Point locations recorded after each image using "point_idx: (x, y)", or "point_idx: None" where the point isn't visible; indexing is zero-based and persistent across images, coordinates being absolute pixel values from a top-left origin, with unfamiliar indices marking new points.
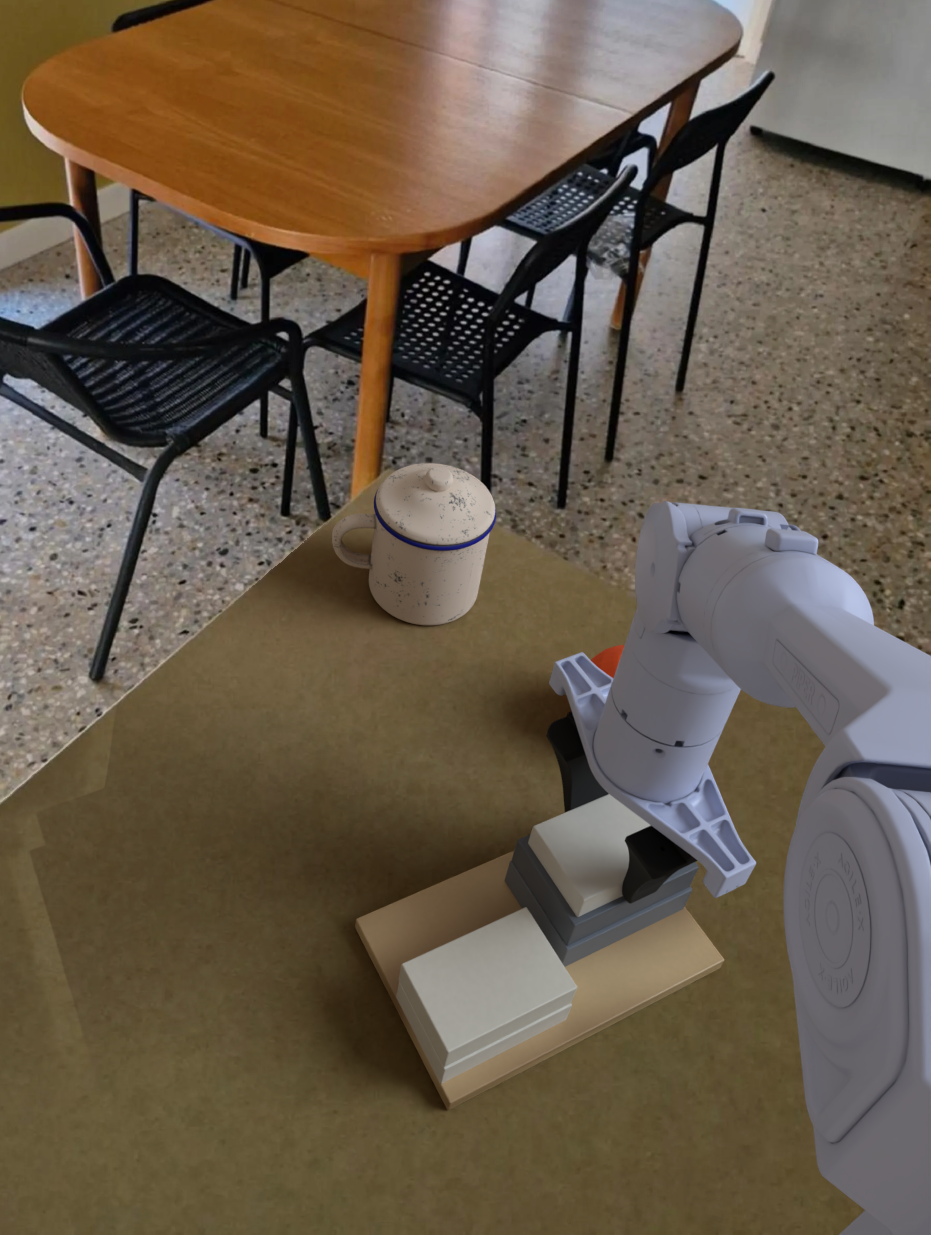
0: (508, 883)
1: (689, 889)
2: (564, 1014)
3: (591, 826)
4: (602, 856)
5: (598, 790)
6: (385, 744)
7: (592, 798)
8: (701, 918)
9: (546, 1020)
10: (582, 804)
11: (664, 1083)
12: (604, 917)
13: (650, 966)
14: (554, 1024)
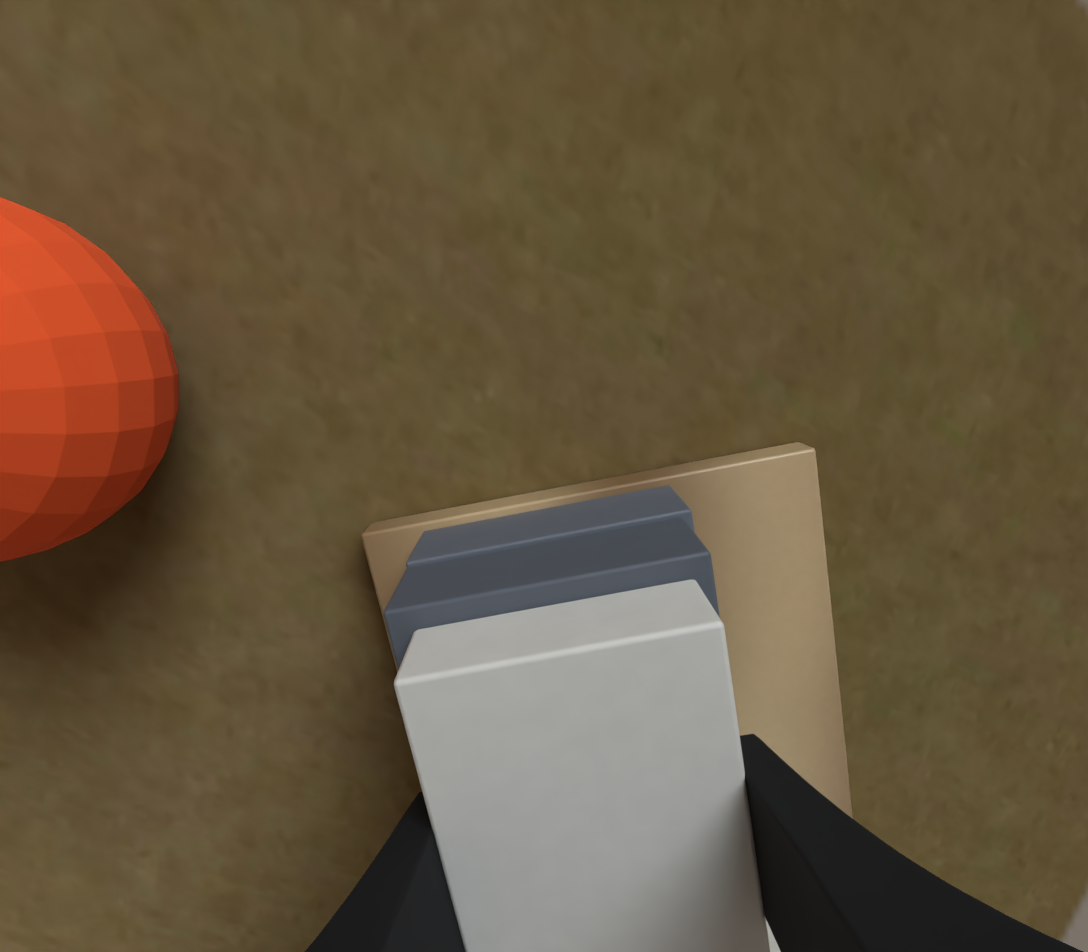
0: None
1: (688, 519)
2: None
3: (547, 936)
4: (661, 941)
5: (433, 919)
6: (102, 933)
7: (445, 904)
8: (677, 422)
9: None
10: (458, 931)
11: (960, 667)
12: None
13: (772, 625)
14: None
